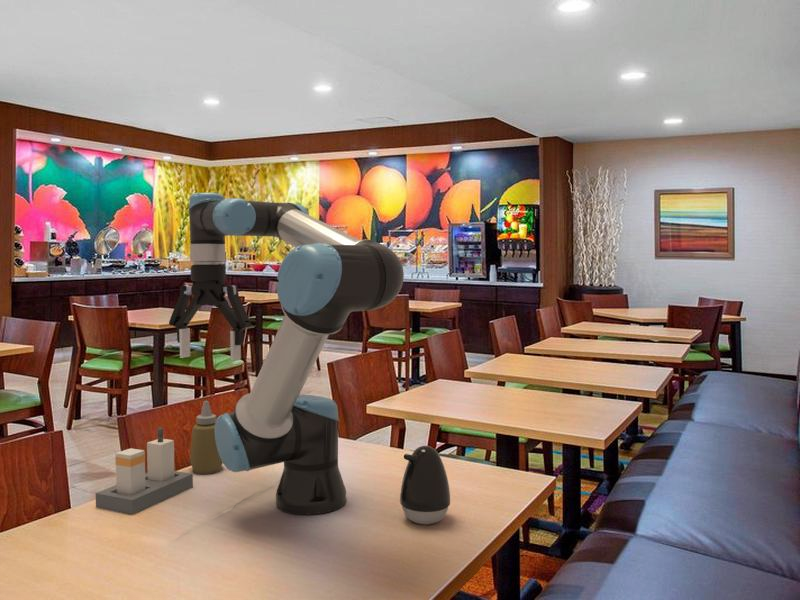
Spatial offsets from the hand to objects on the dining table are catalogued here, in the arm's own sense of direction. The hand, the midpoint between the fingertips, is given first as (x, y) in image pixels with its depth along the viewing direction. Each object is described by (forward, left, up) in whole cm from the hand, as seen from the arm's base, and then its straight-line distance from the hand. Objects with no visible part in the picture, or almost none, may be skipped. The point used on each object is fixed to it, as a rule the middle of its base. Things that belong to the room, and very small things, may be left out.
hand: (210, 358), depth 151 cm
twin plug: (+9, +6, -29) cm, 31 cm away
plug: (+9, +15, -29) cm, 34 cm away
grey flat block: (+9, +11, -30) cm, 33 cm away
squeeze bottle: (+9, -9, -31) cm, 33 cm away
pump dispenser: (-50, -4, -31) cm, 59 cm away
